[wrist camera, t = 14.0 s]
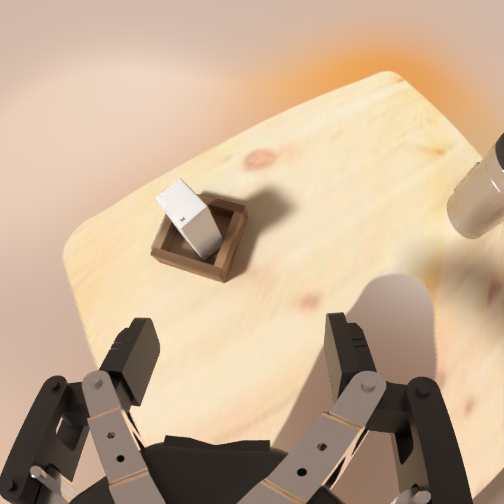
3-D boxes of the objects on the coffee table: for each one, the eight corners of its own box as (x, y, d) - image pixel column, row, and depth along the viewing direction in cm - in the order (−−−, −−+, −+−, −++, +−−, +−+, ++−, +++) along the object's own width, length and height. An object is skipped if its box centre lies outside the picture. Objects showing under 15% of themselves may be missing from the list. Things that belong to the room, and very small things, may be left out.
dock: (174, 199, 51) (167, 187, 47) (247, 217, 49) (244, 205, 45) (148, 258, 48) (138, 250, 44) (224, 283, 46) (218, 276, 42)
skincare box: (226, 243, 47) (209, 206, 35) (204, 261, 46) (180, 230, 35) (201, 217, 48) (180, 176, 37) (181, 234, 48) (153, 197, 36)
